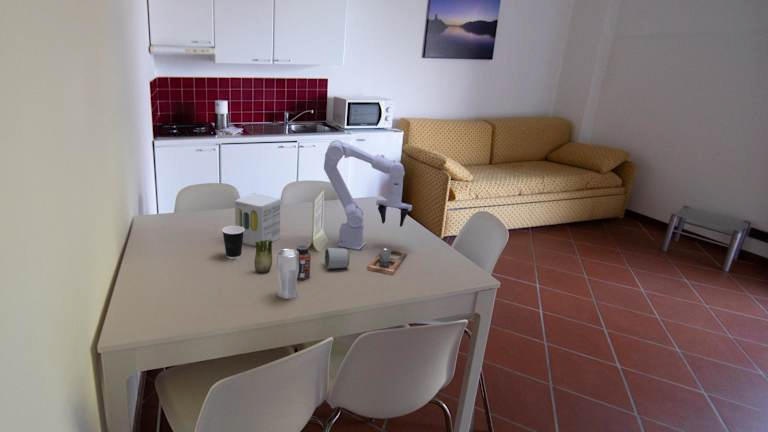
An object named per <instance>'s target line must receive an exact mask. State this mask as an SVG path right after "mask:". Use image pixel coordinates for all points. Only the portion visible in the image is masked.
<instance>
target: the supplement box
mask: <svg viewBox="0 0 768 432" xmlns="http://www.w3.org/2000/svg"><path fill="white" fill-rule="evenodd" d="M281 203H282V200H281V197H274V196H270V195H264V194H260V193H255V192H254V193H251V194H249V195H246V196H244V197H243V196H242V197H241V198H238V199H236V200H235V199H234V215H235V216H234V217H235V219H234V220H235V222H234V224H235V225H234V226H240V227H243V228H244V232H243V242H242V244H245V245H249V246H254V247H256V244H255V242H256V241H259V243H260V240H267V246H268V240H272V243H274V242H276V241H278V240H280V239H281V206H282V205H281Z"/></svg>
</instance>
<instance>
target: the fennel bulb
mask: <svg viewBox="0 0 768 432" xmlns="http://www.w3.org/2000/svg"><path fill="white" fill-rule="evenodd" d="M255 244H256V246H255V256H254V265H253V267H254V269H255V270H256V271H257V272H259V273H268V272H270V271H271V268H272V264H273V248H272V247H273V242H272V240H268V245H267V240H260V243H259V241H256V242H255Z"/></svg>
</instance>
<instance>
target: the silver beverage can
mask: <svg viewBox="0 0 768 432" xmlns="http://www.w3.org/2000/svg"><path fill="white" fill-rule="evenodd" d="M276 267H277V268H276V271H277V275H278V283H279V285H278V287H279V288H278V293H277V295H278V297H279V298H280V299H283V300H293V299H295V298H297V296H298V290H297V281H298V279H297V277H298V272H299V252H298V251H297V249H293V248H282V249H281V250H278V252H277V259H276Z"/></svg>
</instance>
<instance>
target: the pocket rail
mask: <svg viewBox="0 0 768 432" xmlns="http://www.w3.org/2000/svg"><path fill="white" fill-rule="evenodd" d="M390 255H392V256H398V258H394V257H393V258H392V257H390V265H389V266H391V268H389V269H387V268H382V267H379V266H376V265H377V264H379V258H380V251H379V252H378V254H376V256H375V257H374V258H373V259H372V261H370V263H369V264H368V265H367V267H366V268H367V269H366V270H367V271H371V272H376V273H380V274H383V275H384V274H386V275H390V276H393V275H394V274H395V273H396V272H397V271H398V269H399V268H400V266H401V265H402V263H403V262H404V260H405V259H406V257H407V255H408V252H407V251H402V250H397V249H392V248H391V254H390Z"/></svg>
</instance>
